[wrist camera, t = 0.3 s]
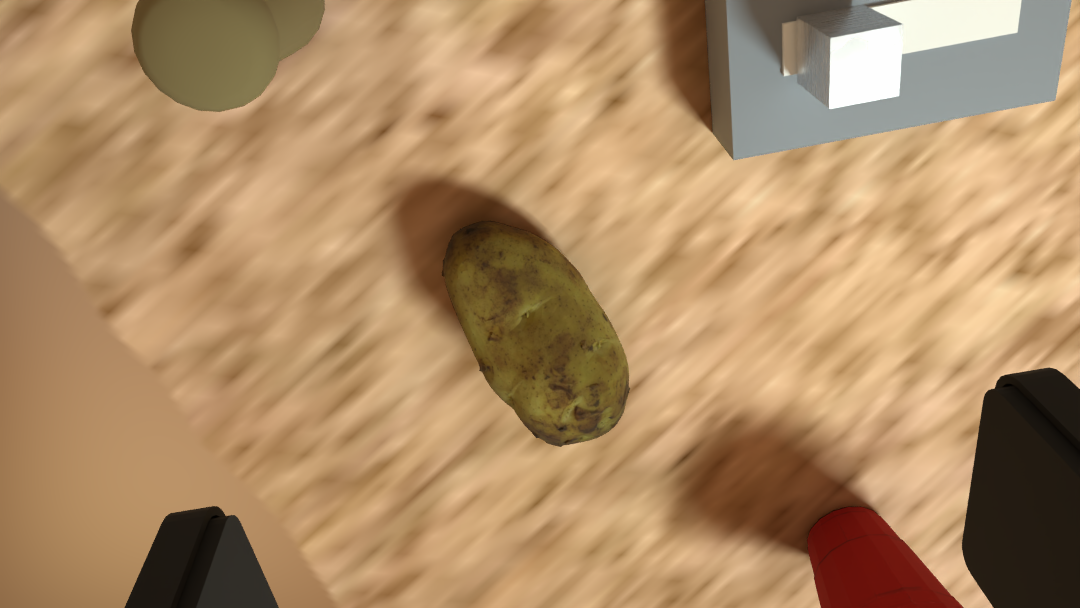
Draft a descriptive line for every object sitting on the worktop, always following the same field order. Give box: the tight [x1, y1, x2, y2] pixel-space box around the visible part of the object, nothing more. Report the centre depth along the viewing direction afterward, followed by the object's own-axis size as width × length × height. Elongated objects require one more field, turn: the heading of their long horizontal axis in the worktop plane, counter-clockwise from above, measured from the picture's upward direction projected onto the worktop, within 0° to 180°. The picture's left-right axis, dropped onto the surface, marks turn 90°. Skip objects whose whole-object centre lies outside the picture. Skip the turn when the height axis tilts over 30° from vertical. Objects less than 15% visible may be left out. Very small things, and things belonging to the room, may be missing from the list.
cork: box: [131, 0, 325, 112], centre depth 35 cm, size 6×6×11 cm
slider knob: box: [797, 5, 903, 109], centre depth 36 cm, size 3×3×4 cm
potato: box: [442, 221, 630, 447], centre depth 45 cm, size 8×13×8 cm, turn 15°
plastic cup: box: [807, 507, 963, 608], centre depth 56 cm, size 11×11×12 cm
